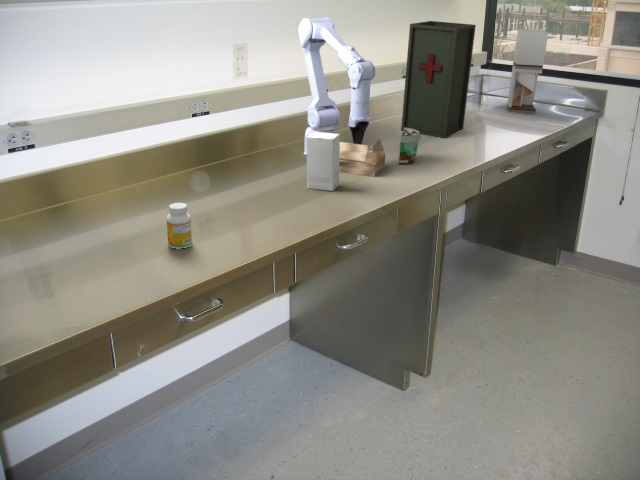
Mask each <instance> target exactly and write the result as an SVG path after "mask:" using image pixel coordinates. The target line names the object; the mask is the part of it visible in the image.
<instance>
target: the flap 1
mask: <svg viewBox="0 0 640 480" xmlns="http://www.w3.org/2000/svg"><path fill="white" fill-rule="evenodd" d="M367 151H369V145H367V144H361V145H360V144H354V143H352V142H346V141H345V142H344V141H340V155H339V158H342V159H349V160H356V161H363V162H366V157H367Z"/></svg>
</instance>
